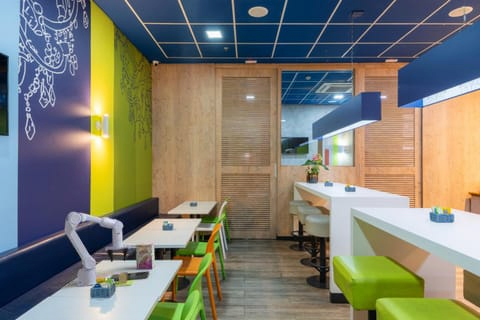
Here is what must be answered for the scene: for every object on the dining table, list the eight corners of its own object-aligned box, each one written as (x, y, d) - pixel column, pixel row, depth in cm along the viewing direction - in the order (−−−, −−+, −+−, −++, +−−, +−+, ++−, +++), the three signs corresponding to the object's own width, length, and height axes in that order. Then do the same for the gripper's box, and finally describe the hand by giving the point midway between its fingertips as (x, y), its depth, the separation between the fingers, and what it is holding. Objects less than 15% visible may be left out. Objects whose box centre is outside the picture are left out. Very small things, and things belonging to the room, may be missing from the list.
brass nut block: (119, 284, 175) (118, 275, 175) (120, 281, 179) (120, 272, 179) (126, 283, 176) (126, 274, 176) (127, 281, 180) (127, 272, 180)
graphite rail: (109, 282, 181) (109, 278, 181) (112, 277, 188) (112, 274, 188) (147, 278, 184) (147, 275, 184) (149, 274, 191) (149, 271, 191)
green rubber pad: (113, 287, 173) (113, 286, 173) (116, 282, 180) (116, 281, 180) (131, 285, 174) (131, 284, 174) (133, 280, 181) (133, 279, 181)
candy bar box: (136, 269, 201) (135, 245, 201) (139, 266, 206) (138, 243, 206) (152, 269, 200) (151, 244, 200) (155, 266, 205) (154, 242, 205)
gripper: (130, 237, 196) (131, 257, 196) (107, 238, 193) (108, 259, 193) (128, 239, 189) (129, 261, 189) (104, 241, 186) (104, 263, 186)
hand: (118, 260), depth 190 cm, fingers open, 7 cm apart
